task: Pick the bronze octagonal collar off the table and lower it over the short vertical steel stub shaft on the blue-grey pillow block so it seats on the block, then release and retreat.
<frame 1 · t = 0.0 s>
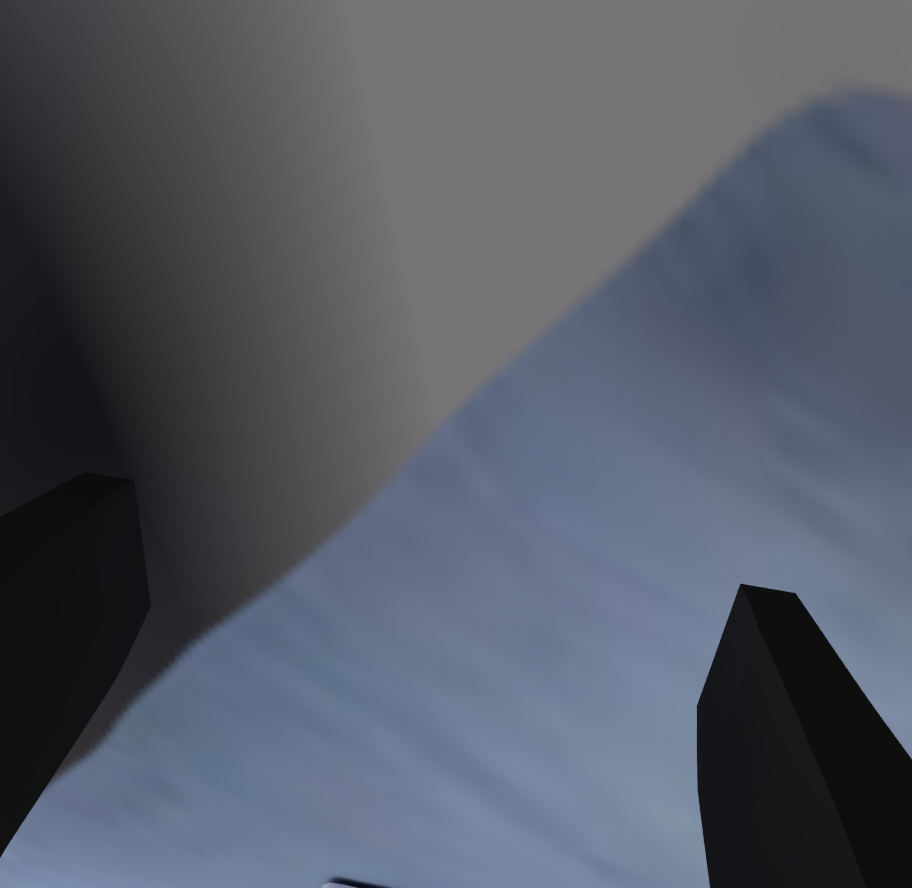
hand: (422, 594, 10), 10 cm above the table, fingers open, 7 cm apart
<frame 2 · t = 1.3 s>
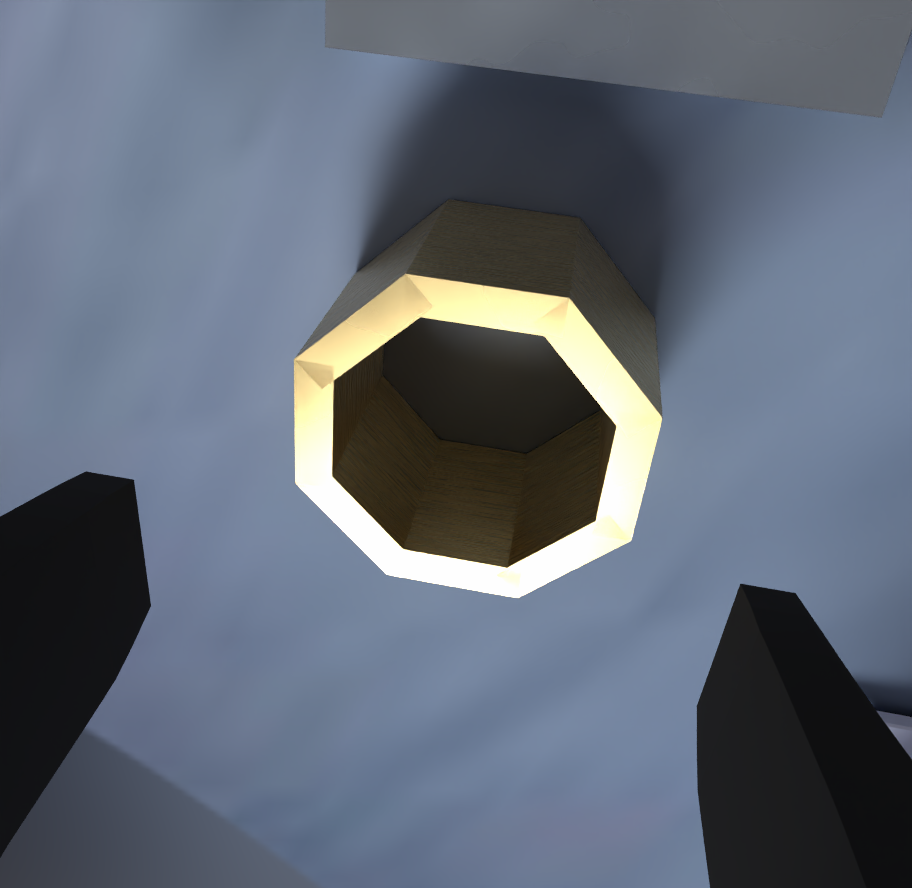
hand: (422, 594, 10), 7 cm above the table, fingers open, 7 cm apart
collar: (495, 351, 16), on the table
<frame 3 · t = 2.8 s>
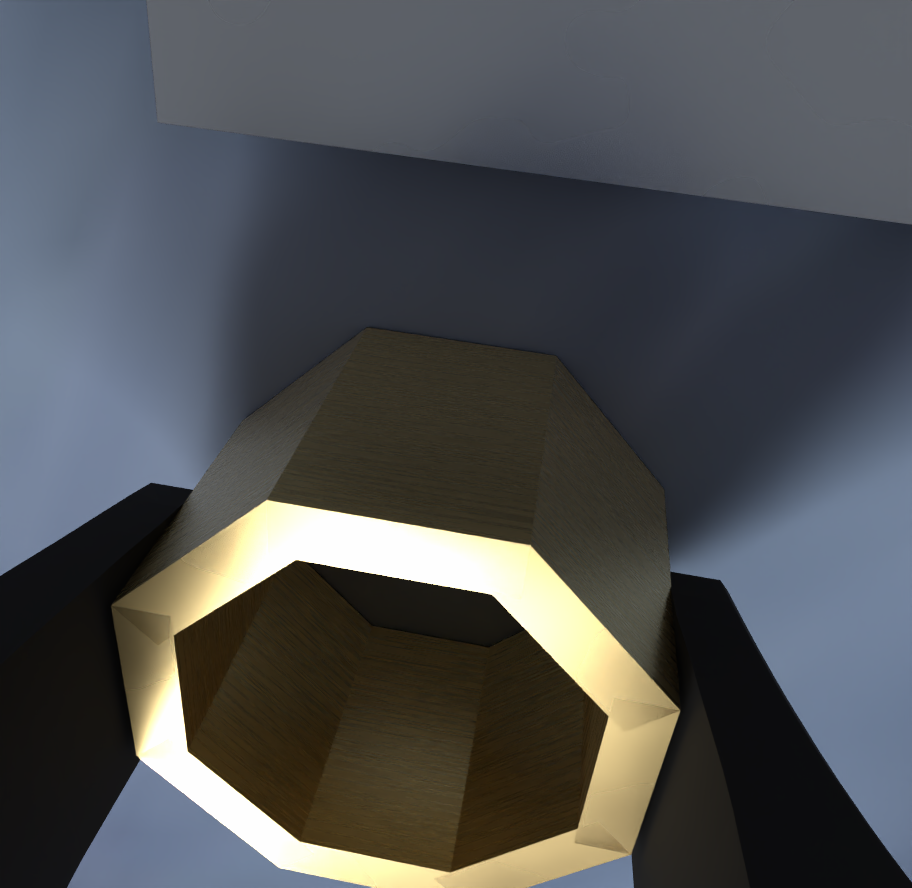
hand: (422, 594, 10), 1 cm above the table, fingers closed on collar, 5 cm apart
collar: (442, 523, 12), on the table, touching gripper
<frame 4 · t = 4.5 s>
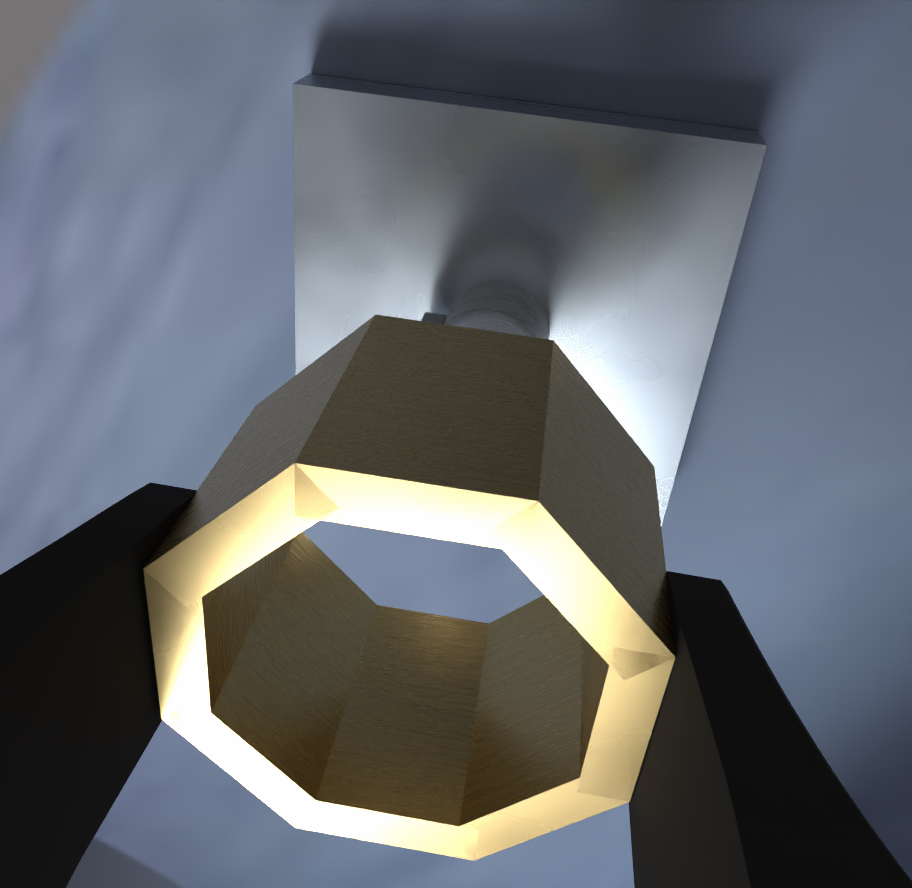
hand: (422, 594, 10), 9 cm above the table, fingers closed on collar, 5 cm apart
shaft block: (502, 309, 18), on the table
collar: (444, 503, 12), point 6 cm above the table, touching gripper
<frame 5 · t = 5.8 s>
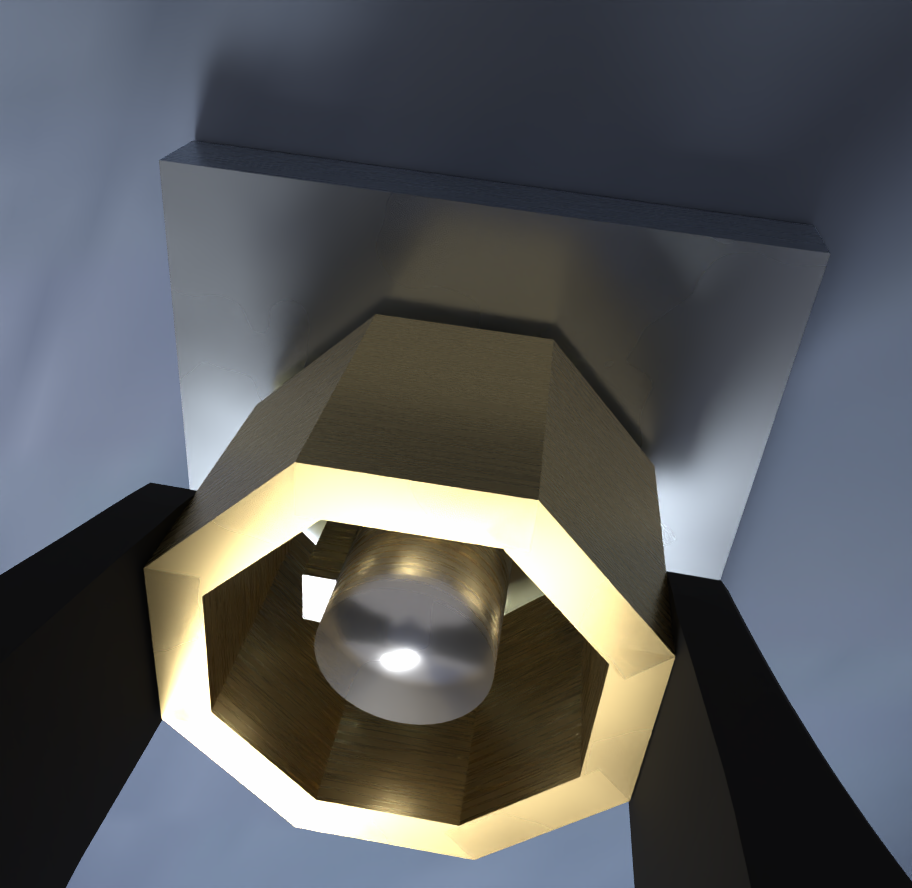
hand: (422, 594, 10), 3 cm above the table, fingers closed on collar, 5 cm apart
shaft block: (464, 444, 13), on the table
collar: (444, 502, 12), point 1 cm above the table, touching gripper
when the fingers open (3 cm above the table, at t = 6.5 s): collar stays where it is, resting on shaft block.
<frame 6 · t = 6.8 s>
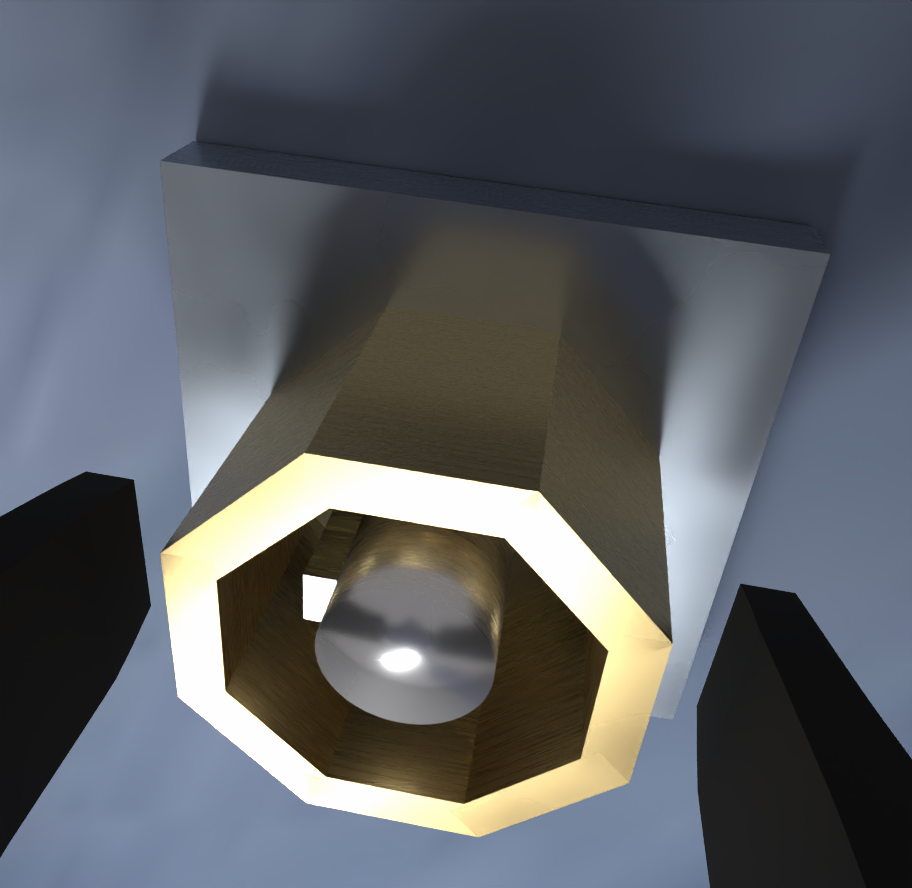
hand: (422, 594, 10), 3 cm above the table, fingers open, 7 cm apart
shaft block: (464, 444, 13), on the table
collar: (454, 491, 13), point 1 cm above the table, touching shaft block
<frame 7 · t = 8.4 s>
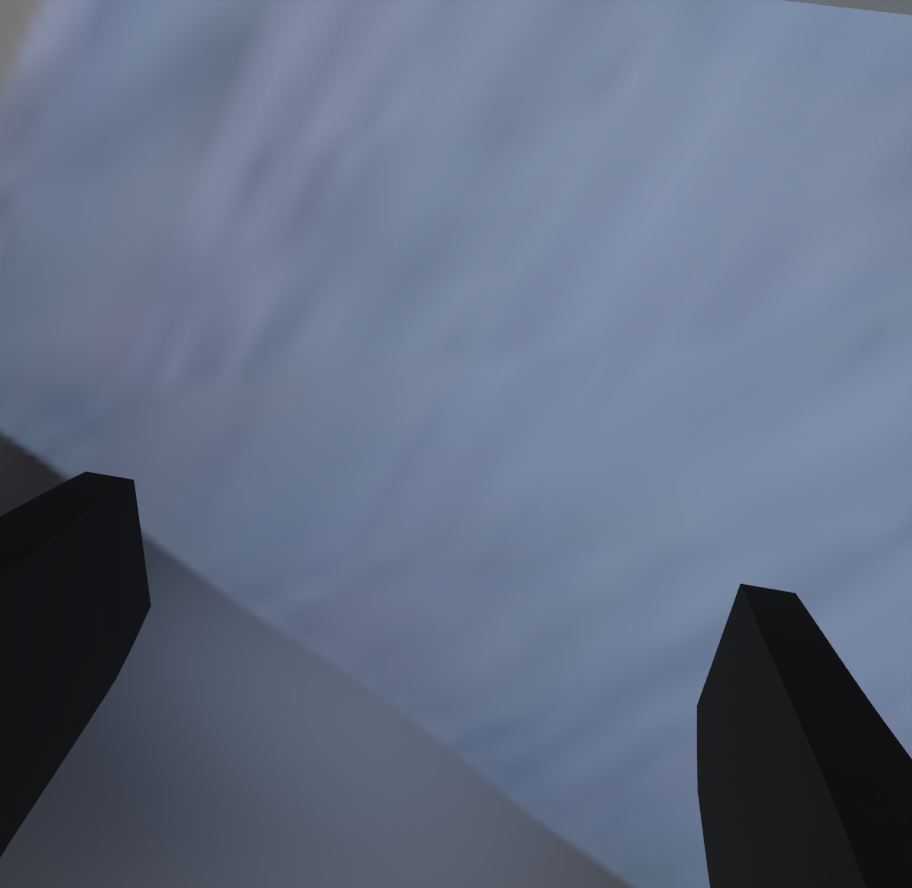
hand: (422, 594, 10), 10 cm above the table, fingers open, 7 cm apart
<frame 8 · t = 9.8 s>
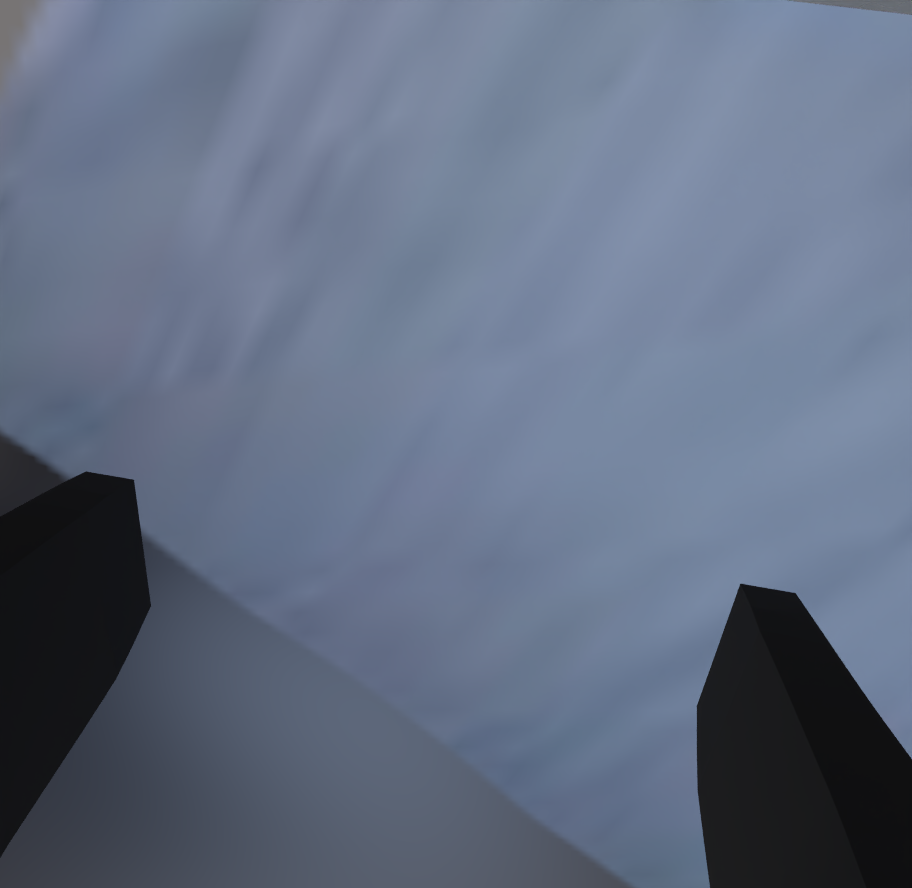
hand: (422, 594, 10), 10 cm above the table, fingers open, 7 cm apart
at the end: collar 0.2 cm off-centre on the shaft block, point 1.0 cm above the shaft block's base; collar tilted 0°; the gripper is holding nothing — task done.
